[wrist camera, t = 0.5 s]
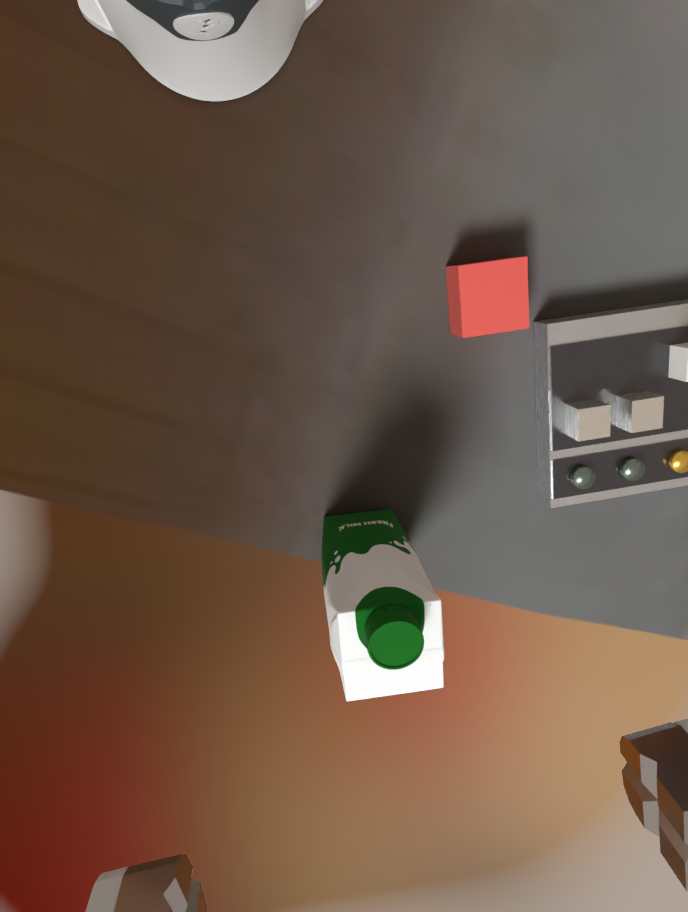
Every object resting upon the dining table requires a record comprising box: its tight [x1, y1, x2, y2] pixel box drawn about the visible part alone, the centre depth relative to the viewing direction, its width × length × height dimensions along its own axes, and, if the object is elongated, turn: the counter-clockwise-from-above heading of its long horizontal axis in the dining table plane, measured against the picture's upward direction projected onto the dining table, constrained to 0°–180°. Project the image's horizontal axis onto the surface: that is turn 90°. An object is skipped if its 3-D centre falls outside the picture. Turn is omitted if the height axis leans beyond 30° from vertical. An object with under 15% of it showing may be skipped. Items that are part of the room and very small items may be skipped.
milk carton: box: [322, 509, 444, 701], centre depth 50 cm, size 9×9×20 cm
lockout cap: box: [446, 256, 529, 338], centre depth 51 cm, size 6×6×4 cm
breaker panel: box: [533, 299, 688, 508], centre depth 54 cm, size 18×16×6 cm
